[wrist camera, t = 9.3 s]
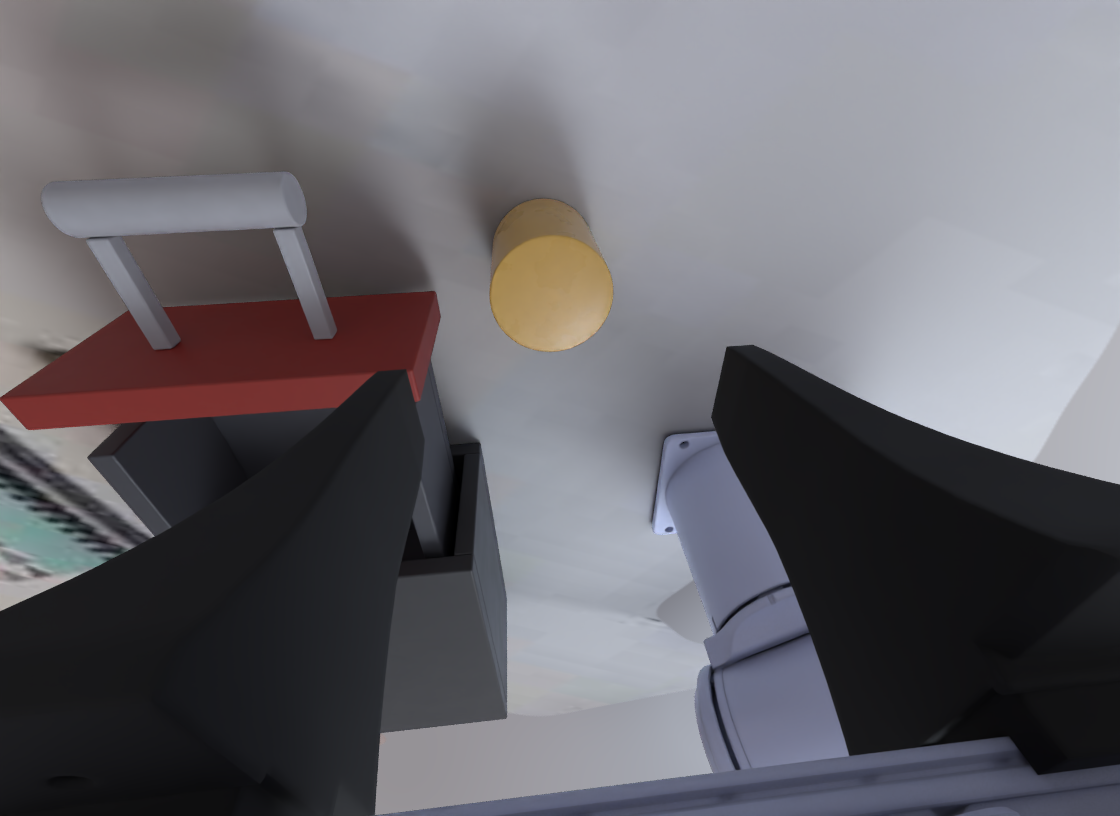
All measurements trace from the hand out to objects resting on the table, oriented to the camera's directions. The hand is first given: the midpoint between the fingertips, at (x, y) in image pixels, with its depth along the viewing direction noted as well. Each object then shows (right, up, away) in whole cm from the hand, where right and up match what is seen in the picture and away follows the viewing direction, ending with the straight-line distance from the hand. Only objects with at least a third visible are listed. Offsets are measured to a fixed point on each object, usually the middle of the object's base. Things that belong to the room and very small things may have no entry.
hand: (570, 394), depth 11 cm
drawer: (-11, 0, +10) cm, 14 cm away
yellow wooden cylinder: (-1, +6, +8) cm, 10 cm away
